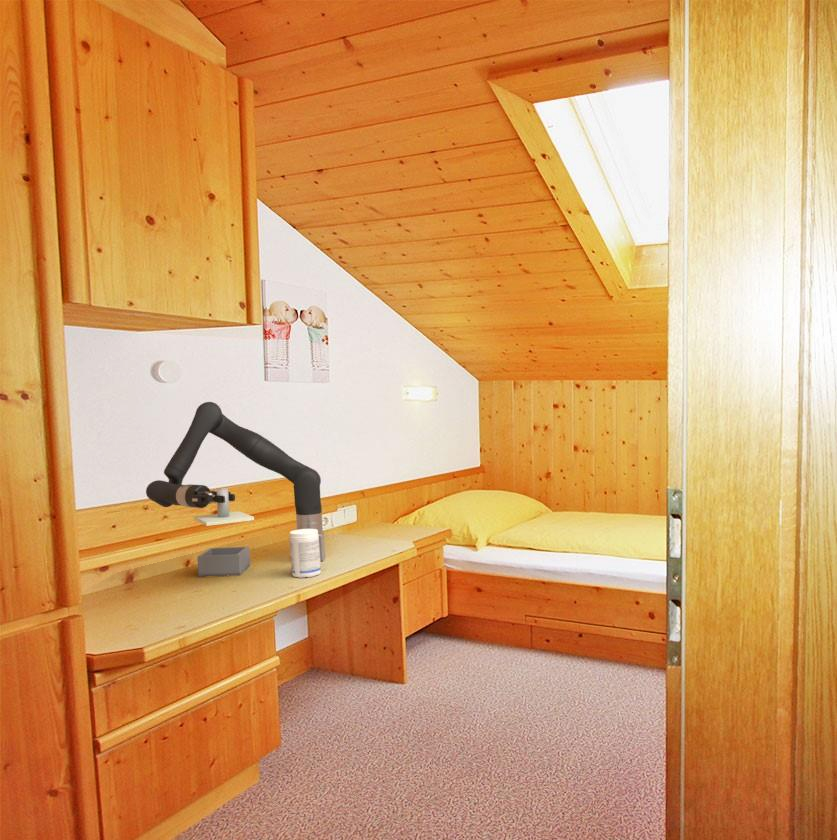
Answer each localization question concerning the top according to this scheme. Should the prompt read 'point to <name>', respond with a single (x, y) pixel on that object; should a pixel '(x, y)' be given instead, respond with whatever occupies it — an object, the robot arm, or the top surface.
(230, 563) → the parts box
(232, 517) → the lid
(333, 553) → the top surface
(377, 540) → the top surface
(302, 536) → the supplement tub
